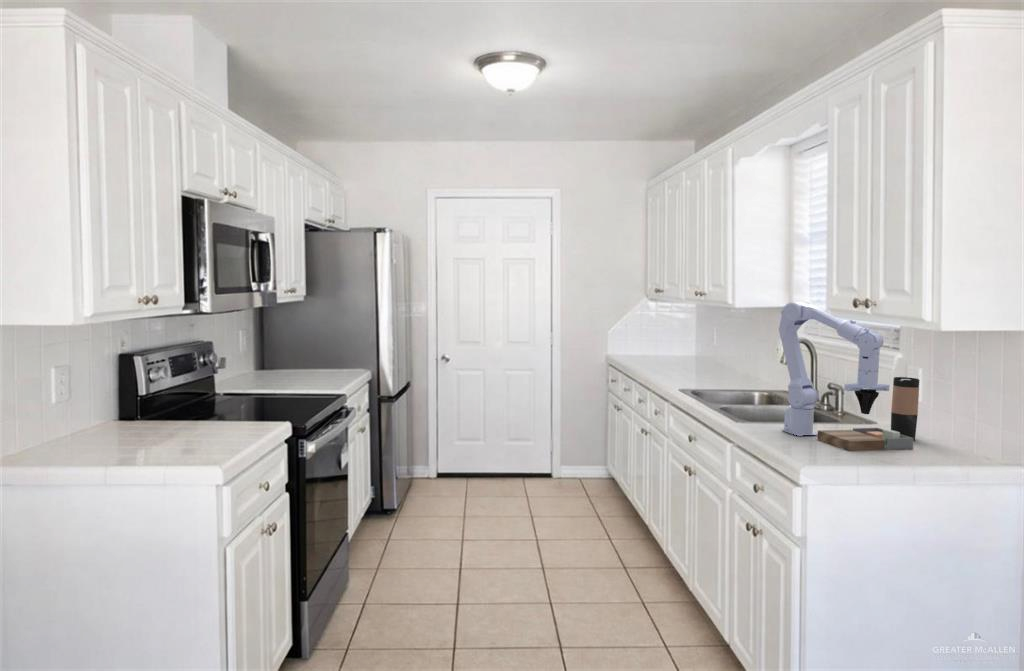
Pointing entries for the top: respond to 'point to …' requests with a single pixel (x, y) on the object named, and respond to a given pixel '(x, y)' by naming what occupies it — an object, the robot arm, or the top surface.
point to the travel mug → (905, 406)
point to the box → (891, 440)
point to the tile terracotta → (875, 434)
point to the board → (851, 440)
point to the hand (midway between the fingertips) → (865, 413)
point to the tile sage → (890, 434)
